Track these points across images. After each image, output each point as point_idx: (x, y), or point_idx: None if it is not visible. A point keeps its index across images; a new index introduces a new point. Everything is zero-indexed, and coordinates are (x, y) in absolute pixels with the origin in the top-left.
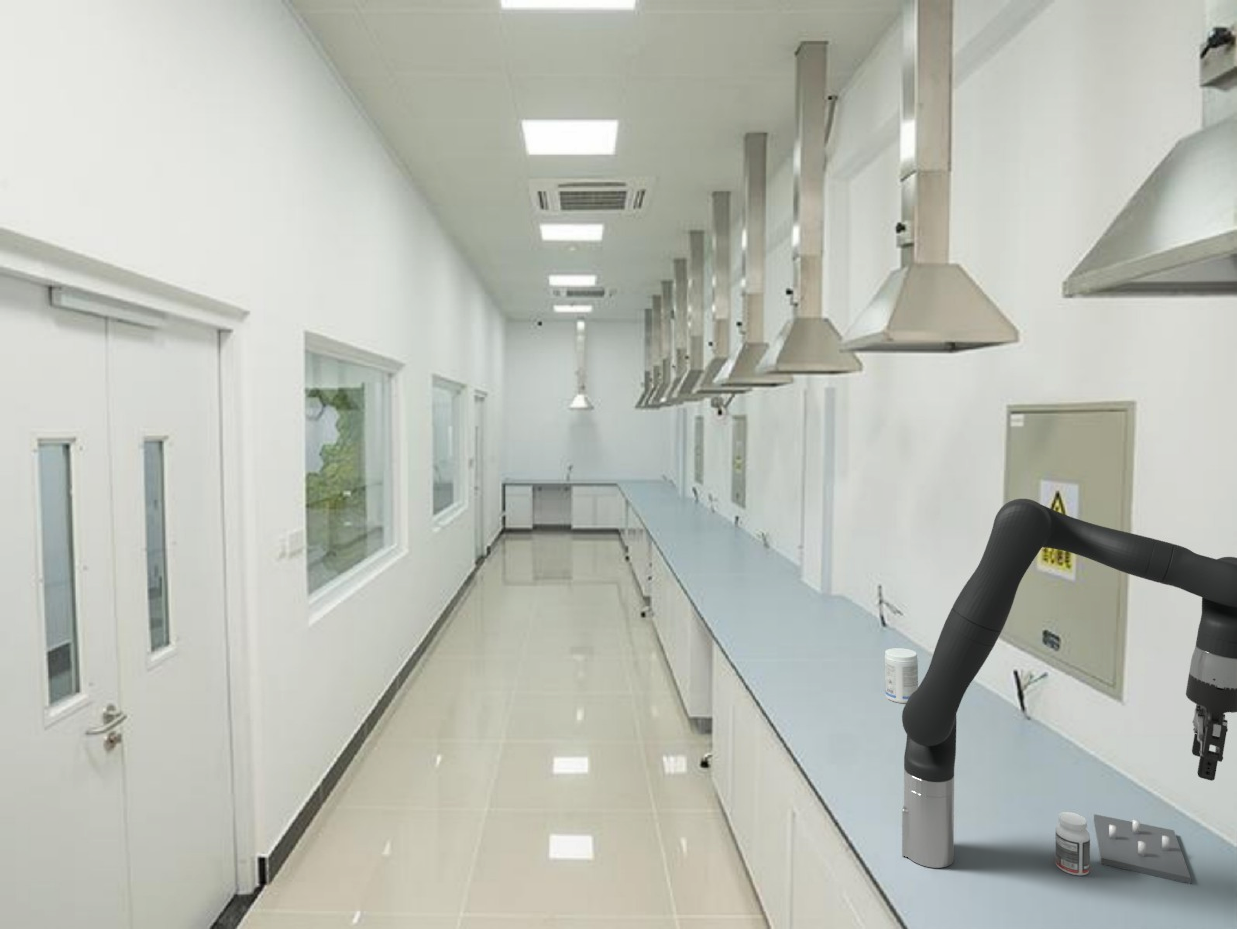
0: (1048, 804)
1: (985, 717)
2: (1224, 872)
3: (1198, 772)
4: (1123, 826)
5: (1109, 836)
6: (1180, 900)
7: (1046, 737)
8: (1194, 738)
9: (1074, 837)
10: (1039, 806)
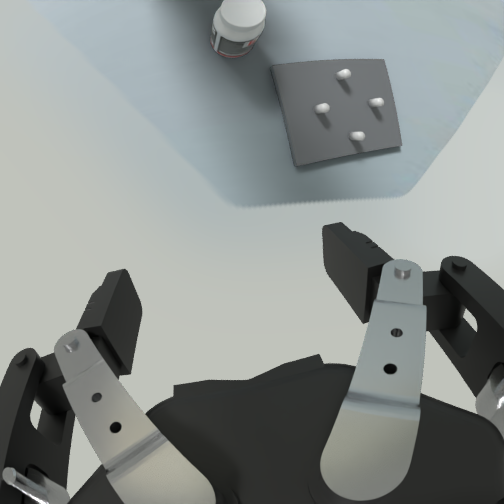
0: (378, 16)
1: (491, 2)
2: (347, 197)
3: (106, 278)
4: (376, 90)
5: (336, 72)
6: (242, 159)
7: (496, 47)
8: (357, 257)
9: (216, 23)
10: (366, 6)
